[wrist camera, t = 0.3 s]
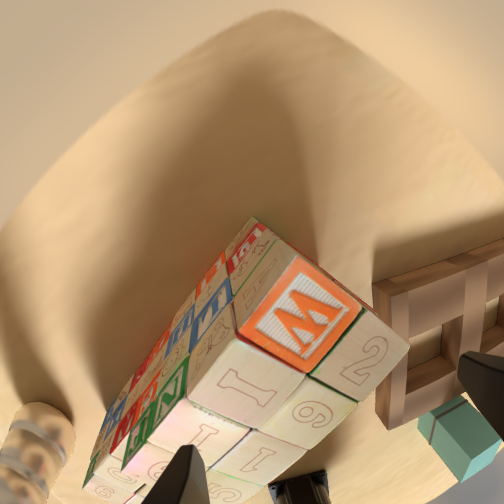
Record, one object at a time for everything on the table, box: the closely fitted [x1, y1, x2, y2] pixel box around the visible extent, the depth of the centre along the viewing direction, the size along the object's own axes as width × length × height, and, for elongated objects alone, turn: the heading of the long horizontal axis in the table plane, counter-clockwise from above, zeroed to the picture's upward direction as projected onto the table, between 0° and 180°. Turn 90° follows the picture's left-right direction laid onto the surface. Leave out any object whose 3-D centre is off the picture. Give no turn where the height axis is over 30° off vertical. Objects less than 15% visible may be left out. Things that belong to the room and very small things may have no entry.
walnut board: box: [372, 238, 504, 431], centre depth 24 cm, size 14×18×3 cm
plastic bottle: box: [0, 402, 76, 504], centre depth 13 cm, size 6×7×20 cm
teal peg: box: [418, 395, 502, 483], centre depth 23 cm, size 4×4×10 cm
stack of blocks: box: [82, 217, 411, 504], centre depth 17 cm, size 21×6×12 cm, turn 142°
